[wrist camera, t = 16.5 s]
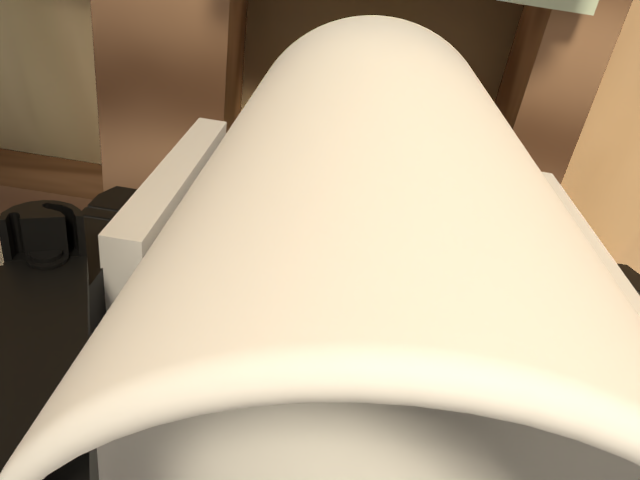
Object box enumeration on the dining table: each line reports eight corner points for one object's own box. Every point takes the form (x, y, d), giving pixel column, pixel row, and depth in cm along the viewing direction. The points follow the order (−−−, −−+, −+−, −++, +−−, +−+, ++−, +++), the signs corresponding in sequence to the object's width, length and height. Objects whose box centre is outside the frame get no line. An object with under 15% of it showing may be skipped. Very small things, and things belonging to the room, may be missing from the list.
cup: (538, 137, 19) (988, 723, 5) (367, 278, 22) (363, 858, 9) (366, -47, 17) (351, 126, 3) (205, 142, 20) (-164, 641, 6)
